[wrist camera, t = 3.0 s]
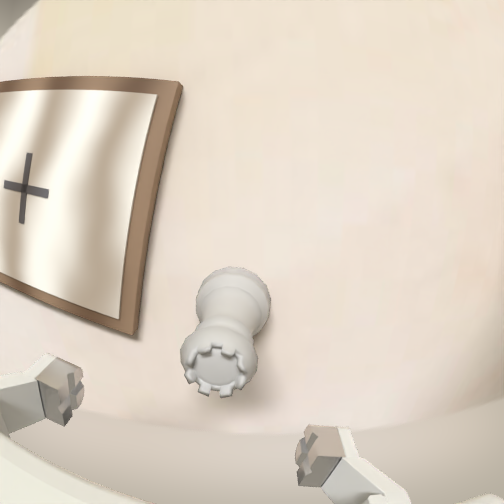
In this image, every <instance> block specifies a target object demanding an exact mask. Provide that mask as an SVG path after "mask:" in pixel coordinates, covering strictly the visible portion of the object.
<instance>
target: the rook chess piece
mask: <svg viewBox="0 0 504 504" xmlns="http://www.w3.org/2000/svg"><path fill="white" fill-rule="evenodd" d="M270 301H271V298H270V295H269V292H268V289H267V286H266V284H265V283H264V282H263V281H262V280H261V279H260V278H259V277H258V275H256V274H254V273H252V272H250V271H248V270H246V269H244V268H238V267H226V268H223V269H219V270H216V271H214V272H213V273H212V274H210V275H209V276H208V277H207V278H206V279H204V281H203V283H202V285H201V287H200V289H199V291H198V295H197V297H196V313H197V316H198V318H199V321H200V324H199V325H198V326H197V328H196V330H195V332H193V333H192V334H191V335H189V336H188V337H187V338H186V339H185V341H184V343H183V345H182V347H181V349H180V353H181V364H182V365H183V367H184V369H185V374H184V376H185V377H186V379H187V381H188V383H189V384H191V383H193V382H196V383H197V384H199V385H200V386H199V389H198V392H199V393H201V394H204V395H206V396H208V397H209V394H210V390H214V391H220V392H219V393H220V398H224V397H229V396H232V393H233V389H237V388H238V389H240V390H242V388H243V387H244V385H245V384H246V383H248V382H249V381H250V380H251V379H252V377H253V376H254V374H255V373H256V371H257V363H258V357H257V354H256V352H255V349H254V347H253V345H254V340H253V336H254V335H255V334H257V333H258V332H259V331H261V329H262V328H263V326H264V324H265V323H266V321H267V319H268V316H269V311H270Z"/></svg>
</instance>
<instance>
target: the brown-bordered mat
mask: <svg viewBox="0 0 504 504" xmlns="http://www.w3.org/2000/svg"><path fill="white" fill-rule="evenodd" d="M182 88H183V86H182V85H181V84H180V83H179V82H178V81H169V80H158V79H147V78H132V77H109V76H67V77H45V78H31V79H20V80H11V81H3V82H0V282H2V283H4V284H6V285H8V286H10V287H12V288H14V289H16V290H19V291H21V292H23V293H25V294H27V295H29V296H32V297H34V298H36V299H38V300H41V301H43V302H45V303H48V304H50V305H52V306H55V307H57V308H60V309H62V310H64V311H67V312H69V313H72V314H74V315H77V316H80V317H82V318H85V319H87V320H90V321H93V322H95V323H98V324H101V325H104V326H106V327H109V328H112V329H115V330H118V331H121V332H124V333H127V334H130V335H133V334H134V333H135V332H136V330H137V329H138V320H139V310H140V300H141V292H142V283H143V276H144V268H145V261H146V254H147V247H148V241H149V235H150V229H151V223H152V217H153V212H154V206H155V201H156V196H157V191H158V186H159V181H160V176H161V171H162V167H163V162H164V158H165V153H166V149H167V145H168V141H169V137H170V133H171V129H172V125H173V121H174V117H175V113H176V110H177V106H178V102H179V99H180V95H181V92H182Z"/></svg>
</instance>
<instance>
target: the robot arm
mask: <svg viewBox="0 0 504 504" xmlns="http://www.w3.org/2000/svg"><path fill="white" fill-rule="evenodd" d="M82 378H83V371H82V369H81V368H80V367H78V366H76V365H74V364H71V363H69V362H67V361H65V360H63V359H61V358H58V357H56V356H54V355H52V354H50V353H45V354H44V355H43V356H42V357H40V358H39V359H38V360H37V361H36V362H35V363H34V364H33V365H32V366H31V367H29V368H28V369H27V370H26V371H25V372H24V373H22V372H21V371H20V372H15V373H10V374H5V375H0V504H154V503H151V502H148V501H144V500H141V499H138V498H135V497H132V496H129V495H126V494H123V493H120V492H118V491H115V490H112V489H109V488H107V487H104V486H102V485H99V484H97V483H94V482H92V481H90V480H87V479H85V478H83V477H80V476H78V475H76V474H74V473H72V472H70V471H67V470H65V469H63V468H61V467H59V466H57V465H55V464H53V463H51V462H49V461H48V460H46V459H44V458H42V457H40V456H38V455H37V454H35V453H33V452H32V451H30V450H28V449H26V448H25V447H23V446H21V445H20V444H18V443H17V442H15V441H13V440H12V439H11V438H10V436H9V434H10V433H12V432H15V431H17V430H19V429H22V428H24V427H27V426H29V425H32V424H34V423H36V422H39V421H41V420H43V419H45V418H47V419H49V420H52V421H54V422H56V423H58V424H60V425H62V426H65V425H66V424H67V423H68V421H69V420H70V418H71V417H72V410H74V409H77V408H78V407H79V406H80V404H81V402H82V400H83V397H84V386H83V384H82V382H81V381H80V380H81V379H82ZM304 435H305V437H304V438H302V439H301V440H300V441H299V443H298V445H297V448H296V453H295V461H296V464H297V465H298V466H299V467H300V468H299V469H298V471H297V477H298V485H299V486H309V487H321V489H322V490H323V491H324V493H325V494H326V495H327V496H328V497H329V499H330V500H331V501H332V502H333V503H334V504H412V503H411V501H410V499H409V496H408V494H407V491H406V490H405V489H403V488H402V487H401V486H399V485H398V484H397V483H395V482H394V481H393V480H391V479H390V478H389V477H387V476H386V475H385V474H384V473H382V472H381V471H380V470H378V469H377V468H376V467H375V466H373V465H372V464H371V463H370V462H368V461H367V460H366V459H364V458H360V456H359V453H358V451H357V448H356V445H355V442H354V439H353V436H352V433H351V431H350V429H349V428H348V427H336V426H335V427H333V426H319V425H308V426H307V427H306V429H305V431H304ZM455 504H504V499H502V498H500V497H498V496H496V495H494V494H491V493H487V494H484V495H480V496H477V497H475V498H471V499H468V500H465V501H462V502H459V503H455Z"/></svg>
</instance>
